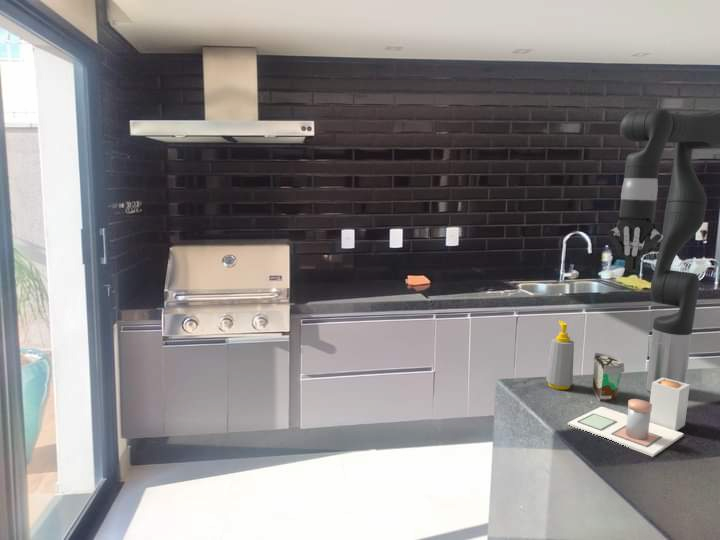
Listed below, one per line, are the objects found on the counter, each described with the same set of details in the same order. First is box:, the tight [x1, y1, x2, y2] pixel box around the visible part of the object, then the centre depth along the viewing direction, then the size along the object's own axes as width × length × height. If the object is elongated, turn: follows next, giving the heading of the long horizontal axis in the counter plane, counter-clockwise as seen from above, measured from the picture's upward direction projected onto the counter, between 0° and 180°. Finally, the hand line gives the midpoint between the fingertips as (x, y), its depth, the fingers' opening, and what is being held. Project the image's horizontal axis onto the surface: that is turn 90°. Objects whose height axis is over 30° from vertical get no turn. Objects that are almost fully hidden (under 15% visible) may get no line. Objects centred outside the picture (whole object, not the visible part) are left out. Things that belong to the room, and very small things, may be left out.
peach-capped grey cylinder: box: [626, 398, 652, 440], centre depth 123 cm, size 5×5×8 cm
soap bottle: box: [545, 320, 575, 391], centre depth 153 cm, size 7×7×18 cm
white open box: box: [649, 377, 691, 431], centre depth 130 cm, size 6×6×10 cm
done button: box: [661, 380, 681, 389], centre depth 130 cm, size 4×4×2 cm
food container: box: [592, 352, 625, 403], centre depth 147 cm, size 12×6×10 cm, turn 168°
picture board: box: [567, 406, 684, 458], centre depth 127 cm, size 16×19×1 cm
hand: (631, 271), depth 133 cm, fingers closed
